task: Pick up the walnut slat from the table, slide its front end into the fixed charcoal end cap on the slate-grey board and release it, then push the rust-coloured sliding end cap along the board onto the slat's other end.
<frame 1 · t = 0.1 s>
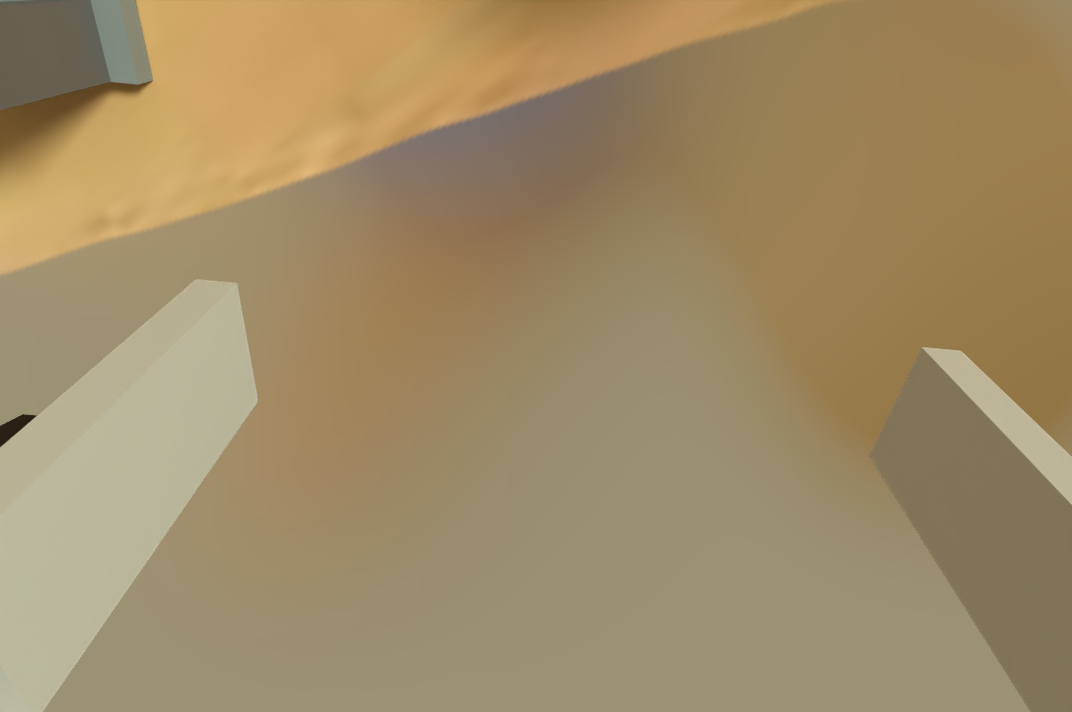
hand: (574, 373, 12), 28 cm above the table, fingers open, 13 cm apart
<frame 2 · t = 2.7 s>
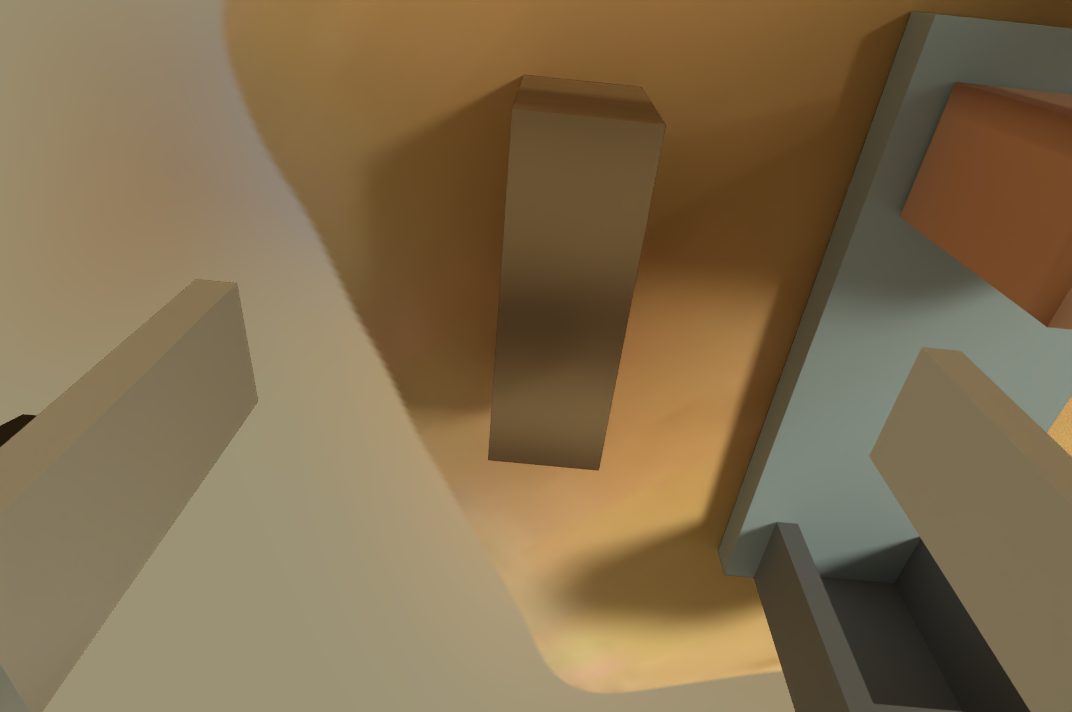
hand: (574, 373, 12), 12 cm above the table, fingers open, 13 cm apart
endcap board: (919, 361, 26), on the table
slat: (562, 245, 24), on the table
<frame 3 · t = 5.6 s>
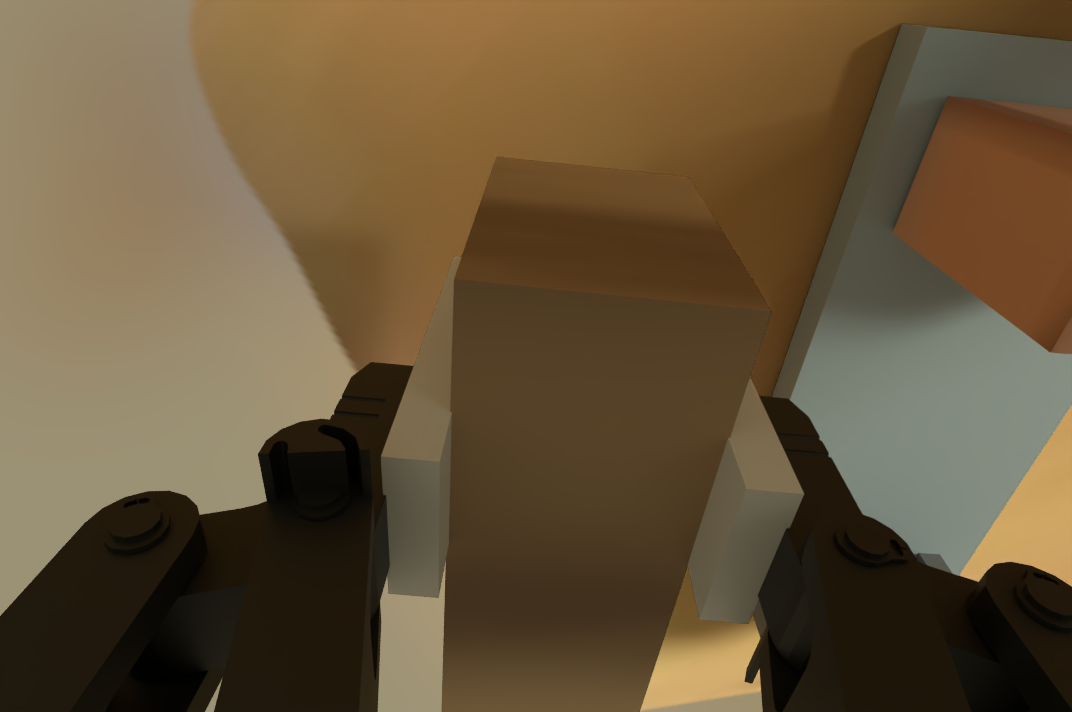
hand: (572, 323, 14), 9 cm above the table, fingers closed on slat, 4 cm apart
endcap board: (913, 377, 26), on the table
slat: (559, 401, 16), point 9 cm above the table, touching gripper
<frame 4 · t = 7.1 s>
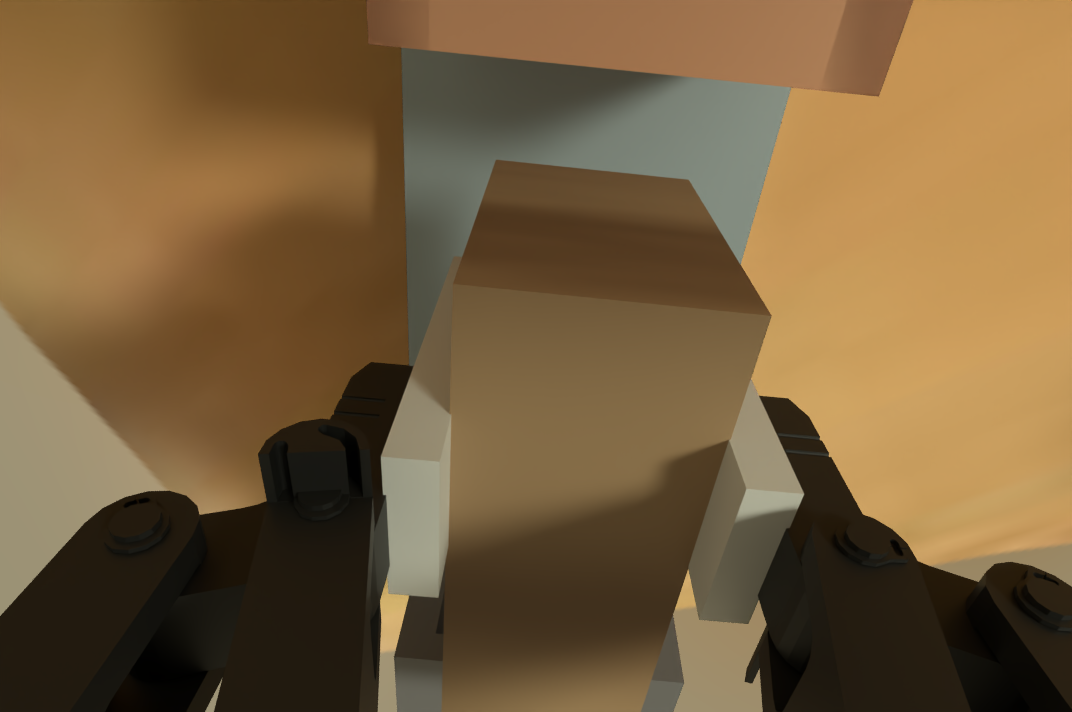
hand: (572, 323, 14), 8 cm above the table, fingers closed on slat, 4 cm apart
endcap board: (573, 232, 22), on the table
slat: (559, 404, 16), point 8 cm above the table, touching gripper
when the fingers open (3 cm above the table, at t = 8.8 s): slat drops 1 cm, resting on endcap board.
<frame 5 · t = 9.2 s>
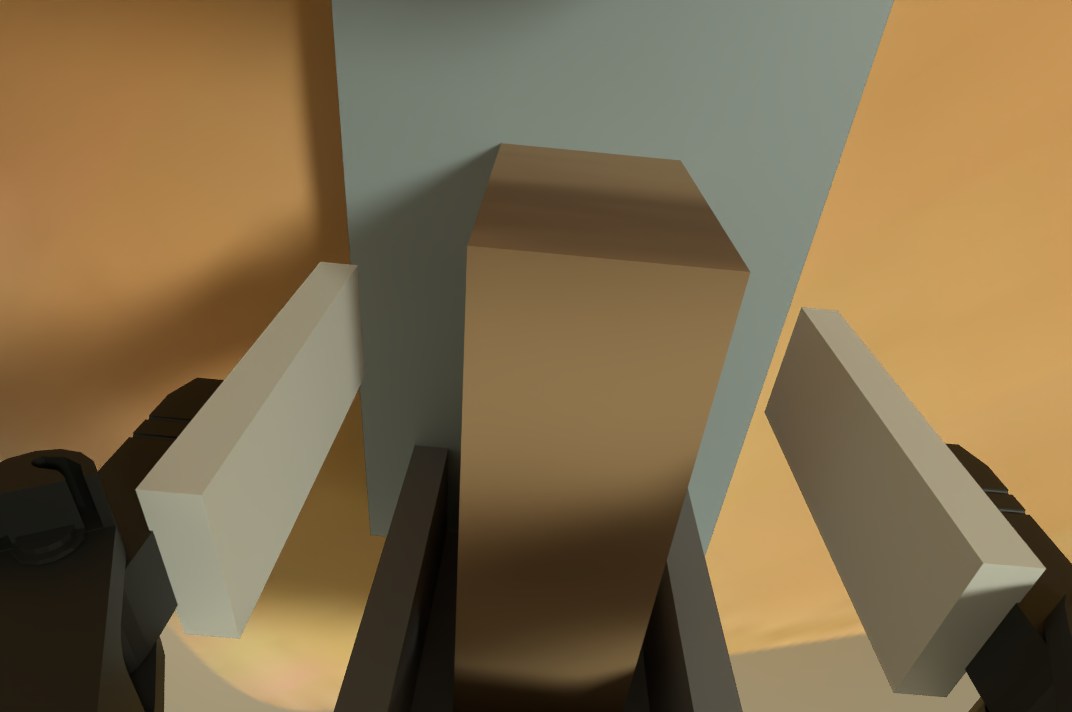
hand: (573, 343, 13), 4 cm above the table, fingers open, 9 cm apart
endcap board: (584, 153, 15), on the table
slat: (561, 376, 17), point 1 cm above the table, touching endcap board
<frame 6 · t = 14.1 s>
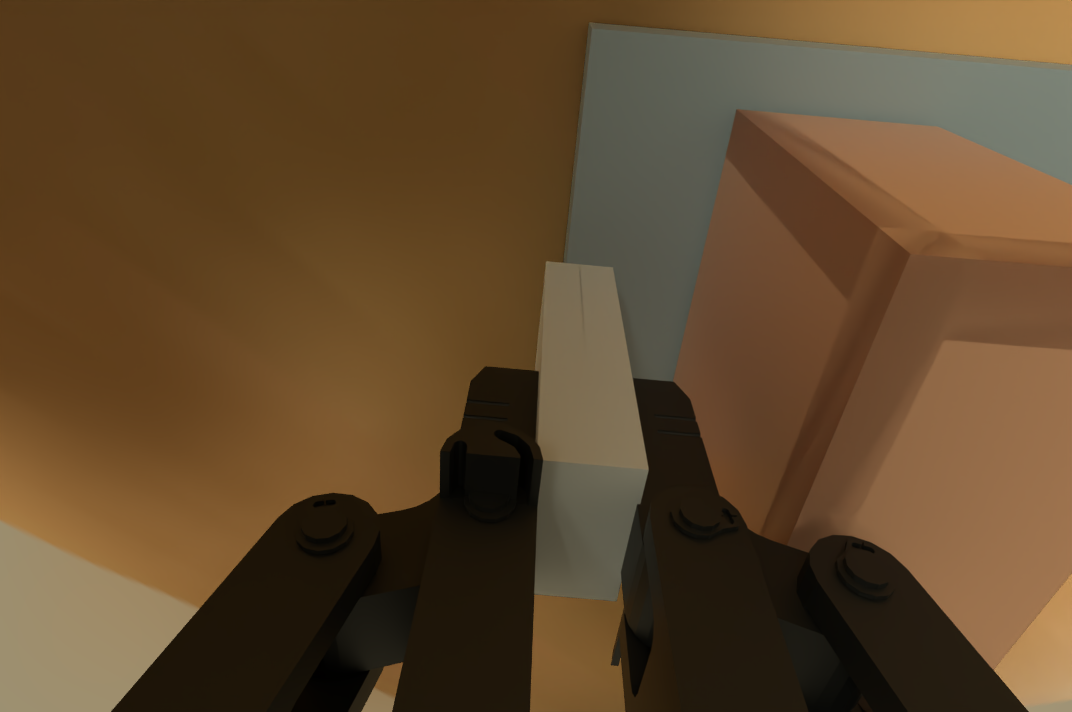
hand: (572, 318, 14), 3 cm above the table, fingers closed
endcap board: (1021, 290, 17), on the table
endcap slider: (839, 386, 12), point 6 cm above the table, slide at 1.5 cm, touching gripper
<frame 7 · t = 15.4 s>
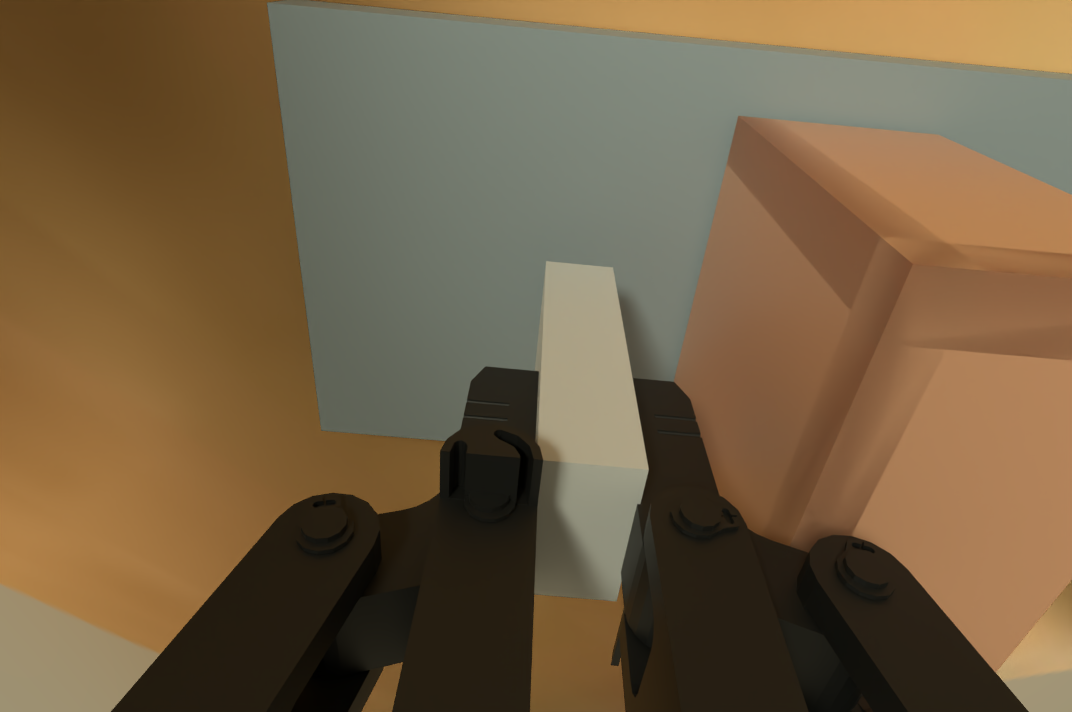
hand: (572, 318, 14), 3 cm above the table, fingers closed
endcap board: (781, 276, 17), on the table
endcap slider: (839, 393, 12), point 6 cm above the table, slide at 8.1 cm, touching gripper
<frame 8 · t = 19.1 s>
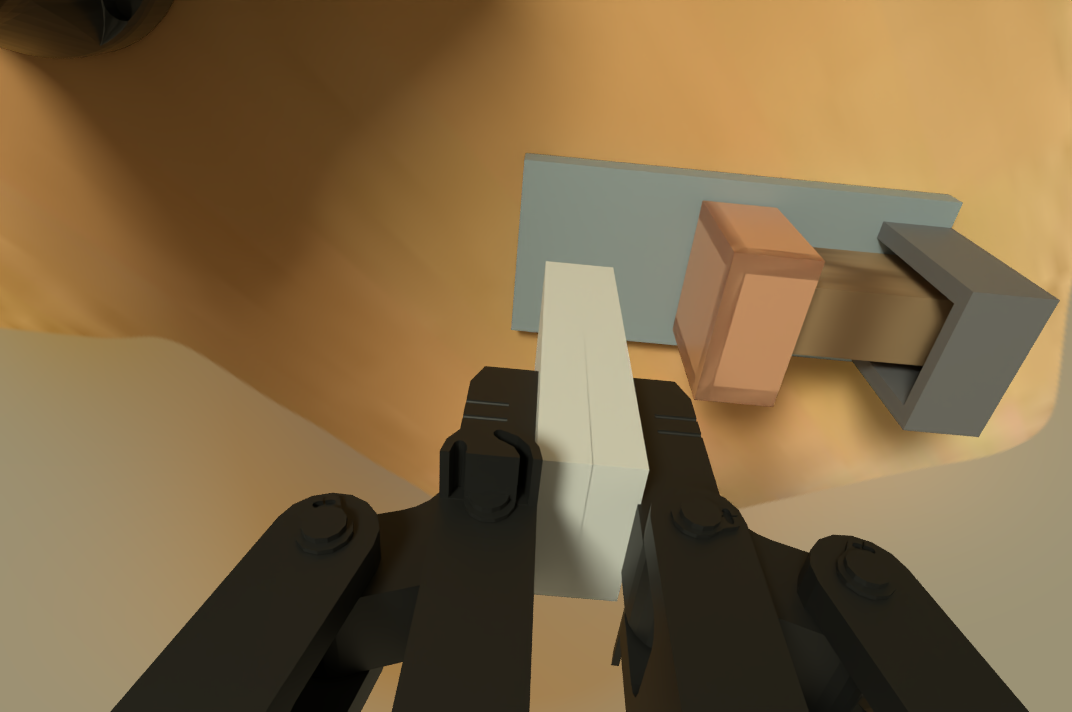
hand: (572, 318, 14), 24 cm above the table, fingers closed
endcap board: (716, 260, 40), on the table
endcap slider: (736, 300, 35), point 6 cm above the table, slide at 8.6 cm
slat: (811, 278, 38), point 1 cm above the table, touching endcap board
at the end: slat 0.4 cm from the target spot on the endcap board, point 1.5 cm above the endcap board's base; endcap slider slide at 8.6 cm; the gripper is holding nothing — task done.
